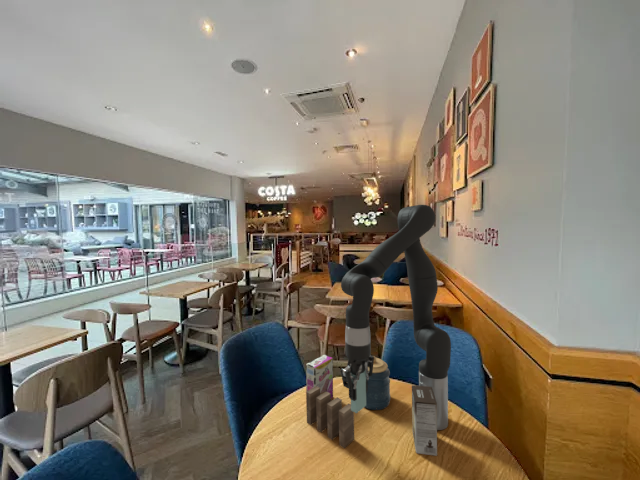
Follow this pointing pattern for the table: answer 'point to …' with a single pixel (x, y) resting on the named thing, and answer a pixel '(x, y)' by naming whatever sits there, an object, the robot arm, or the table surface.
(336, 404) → the domino
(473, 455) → the table surface
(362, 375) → the domino
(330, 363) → the candy bar box
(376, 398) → the canister
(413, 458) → the table surface
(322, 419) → the domino
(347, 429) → the domino
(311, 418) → the domino
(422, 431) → the coffee box
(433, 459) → the table surface
